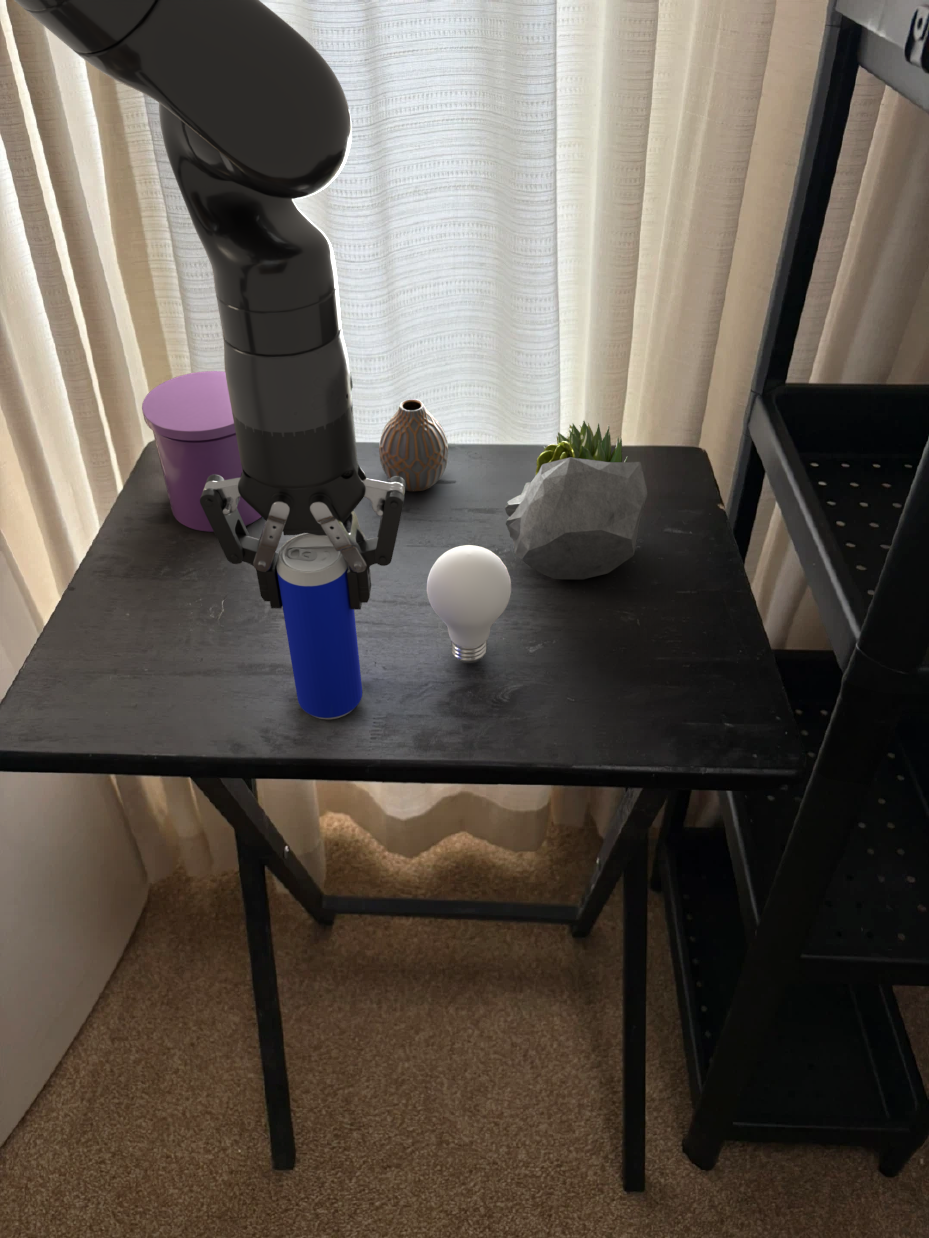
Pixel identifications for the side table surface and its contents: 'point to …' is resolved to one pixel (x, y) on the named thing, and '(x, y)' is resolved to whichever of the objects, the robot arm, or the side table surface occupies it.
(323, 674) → the beverage can
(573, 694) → the side table surface
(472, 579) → the light bulb
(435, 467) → the vase
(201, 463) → the jar
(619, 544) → the potted plant
